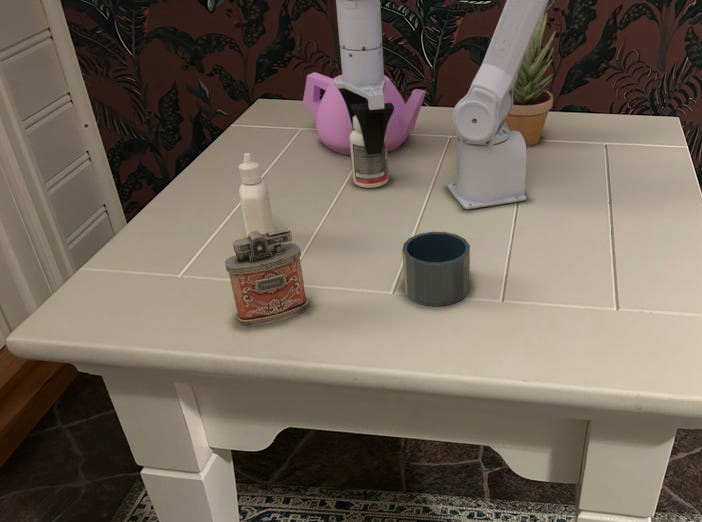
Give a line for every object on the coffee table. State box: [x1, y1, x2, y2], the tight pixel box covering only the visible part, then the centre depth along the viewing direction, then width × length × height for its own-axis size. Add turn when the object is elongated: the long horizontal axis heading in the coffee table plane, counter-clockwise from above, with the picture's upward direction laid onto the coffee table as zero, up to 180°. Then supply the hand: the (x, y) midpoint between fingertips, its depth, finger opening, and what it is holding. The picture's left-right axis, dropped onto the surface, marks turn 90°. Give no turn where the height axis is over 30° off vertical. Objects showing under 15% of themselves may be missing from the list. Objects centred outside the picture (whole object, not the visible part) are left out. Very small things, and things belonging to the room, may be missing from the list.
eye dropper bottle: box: [238, 152, 275, 238], centre depth 92 cm, size 4×6×12 cm
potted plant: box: [505, 11, 556, 147], centre depth 116 cm, size 10×10×25 cm
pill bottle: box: [349, 115, 390, 189], centre depth 107 cm, size 5×5×10 cm
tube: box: [401, 231, 471, 307], centre depth 85 cm, size 8×8×6 cm
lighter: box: [224, 227, 310, 328], centre depth 79 cm, size 8×3×10 cm, turn 118°
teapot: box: [302, 71, 427, 156], centre depth 119 cm, size 22×16×12 cm
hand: (367, 143), depth 107 cm, fingers open, 7 cm apart
